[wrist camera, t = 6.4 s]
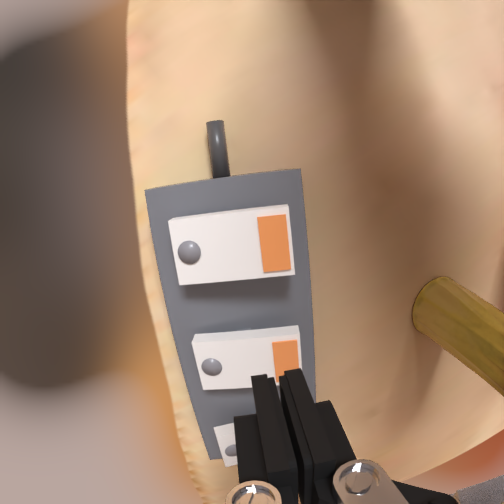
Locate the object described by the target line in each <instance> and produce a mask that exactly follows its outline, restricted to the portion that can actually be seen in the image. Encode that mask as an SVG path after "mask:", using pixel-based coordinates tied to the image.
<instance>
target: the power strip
mask: <svg viewBox="0 0 504 504" xmlns="http://www.w3.org/2000/svg"><path fill="white" fill-rule="evenodd" d="M206 125H207V134H208V142H209V150H210V158H211V165H212V173H213V179H206V180H199V181H193V182H186V183H180V184H174V185H168V186H162V187H156V188H151V189H147V190H145V196H146V202H147V209H148V215H149V221H150V227H151V233H152V238H153V244H154V249H155V254H156V260H157V265H158V270H159V275H160V279H161V284H162V289H163V293H164V298H165V302H166V307H167V311H168V316H169V320H170V324H171V328H172V332H173V336H174V340H175V344H176V348H177V352H178V356H179V360H180V363H181V367H182V371H183V374H184V378H185V381H186V385H187V389H188V392H189V395H190V399H191V402H192V405H193V409H194V412H195V415H196V418H197V422H198V425H199V428H200V431H201V434H202V437H203V440H204V443H205V446H206V449H207V452H208V455H209V458H210V460H212V459H222V454H221V451H220V448H219V444H218V441H217V438H216V434H215V431H214V427H217V426H222V425H226V424H230V423H234V416H242V415H250V414H256V409H255V402H254V396H253V389H252V388H236V389H214V390H203V387H202V383H201V379H200V375H199V371H198V367H197V363H196V359H195V355H194V351H193V347H192V340H193V338H194V335H195V334H203V333H218V332H231V331H244V330H255V329H266V328H276V327H285V326H294V325H298V327H299V332H300V345H301V361H302V372H303V375H304V377H305V380H306V382H307V385H308V387H309V390H310V393H311V395H312V398H313V400H314V403H316V387H315V355H314V332H313V313H312V296H311V280H310V266H309V253H308V241H307V229H306V218H305V207H304V197H303V188H302V178H301V169H287V170H278V171H268V172H260V173H251V174H243V175H235V176H230V170H229V163H228V155H227V147H226V139H225V131H224V122H223V121H222V120H217V121H210V122H207V123H206ZM284 204H288V206H289V216H290V226H291V236H292V247H293V257H294V269H295V275H287V276H277V277H267V278H257V279H246V280H235V281H224V282H213V283H201V284H189V285H179V280H178V275H177V270H176V264H175V259H174V254H173V248H172V242H171V236H170V231H169V225H168V221H169V220H171V219H172V218H176V217H183V216H190V215H198V214H206V213H214V212H222V211H230V210H239V209H247V208H256V207H265V206H274V205H284ZM276 387H277V390H278V394H279V398H280V388H279V385H276ZM280 402H281V400H280Z"/></svg>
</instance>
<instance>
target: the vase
mask: <svg viewBox="0 0 504 504" xmlns="http://www.w3.org/2000/svg"><path fill="white" fill-rule="evenodd" d="M413 323H414V325H415V327H416V329H417V330H418V331H419V332H421V333H423V334H425V335H427V336H429V337H430V338H431V339H432V340H433V341H434V342H436V343H437V344H438V345H440V346H441V347H442V348H443V349H445V350H446V351H448V352H449V353H450V354H452V355H453V356H454V357H456V358H457V359H458V360H460V361H461V362H462V363H463V364H465V365H466V366H467V367H469V368H470V369H471V370H472V371H474V372H475V373H476V374H478V375H479V376H480V377H481V378H483V379H484V380H485V381H486V382H487V383H489V384H490V385H491V386H492V387H493V388H495V389H496V390H497V391H498V392H499V393H500V394H501V395H502V396H504V313H503V312H501V311H500V310H499V309H497V308H495V307H494V306H493V305H491V304H490V303H488V302H486V301H485V300H483V299H482V298H480V297H479V296H477V295H476V294H474V293H472V292H471V291H469V290H467V289H466V288H464V287H462V286H461V285H459V284H457V283H456V282H455V281H453V280H452V279H450V278H448V277H439V278H436V279H434V280H432V281H430V282H429V283H428V284H427V285H425V286H424V288H423V289H422V290H421V291H420V293H419V294H418V296H417V298H416V301H415V304H414V307H413Z"/></svg>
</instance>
